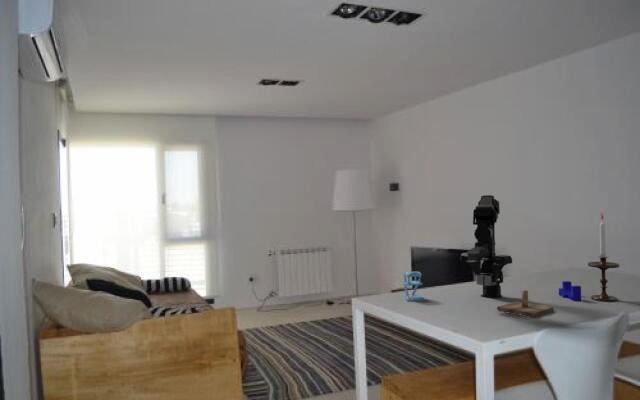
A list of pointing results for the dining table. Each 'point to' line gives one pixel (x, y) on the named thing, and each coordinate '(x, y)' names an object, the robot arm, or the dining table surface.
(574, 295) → the cable clip
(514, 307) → the post block
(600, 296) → the candlestick
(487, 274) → the ring
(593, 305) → the dining table surface
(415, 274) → the chair
